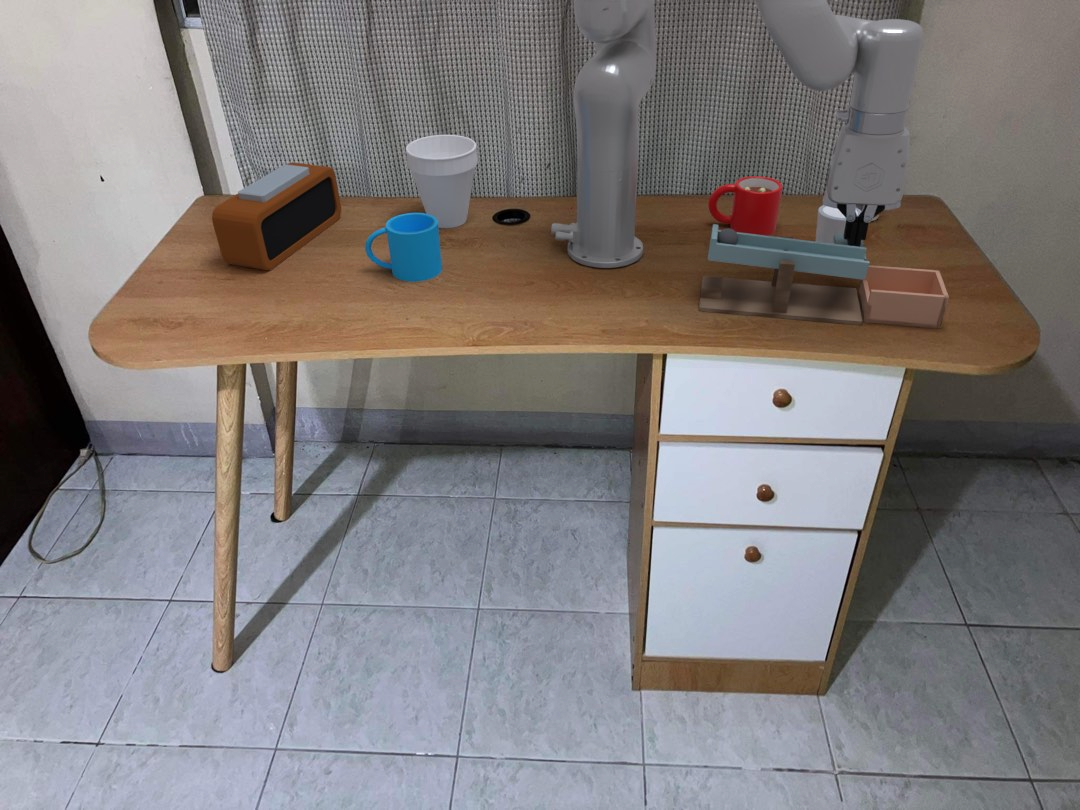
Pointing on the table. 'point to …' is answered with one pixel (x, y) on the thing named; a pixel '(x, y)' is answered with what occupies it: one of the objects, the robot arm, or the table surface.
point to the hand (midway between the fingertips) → (853, 243)
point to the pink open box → (903, 297)
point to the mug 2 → (750, 205)
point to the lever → (793, 254)
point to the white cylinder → (830, 223)
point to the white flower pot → (444, 175)
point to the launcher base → (780, 298)
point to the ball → (727, 237)
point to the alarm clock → (277, 215)
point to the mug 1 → (411, 247)
